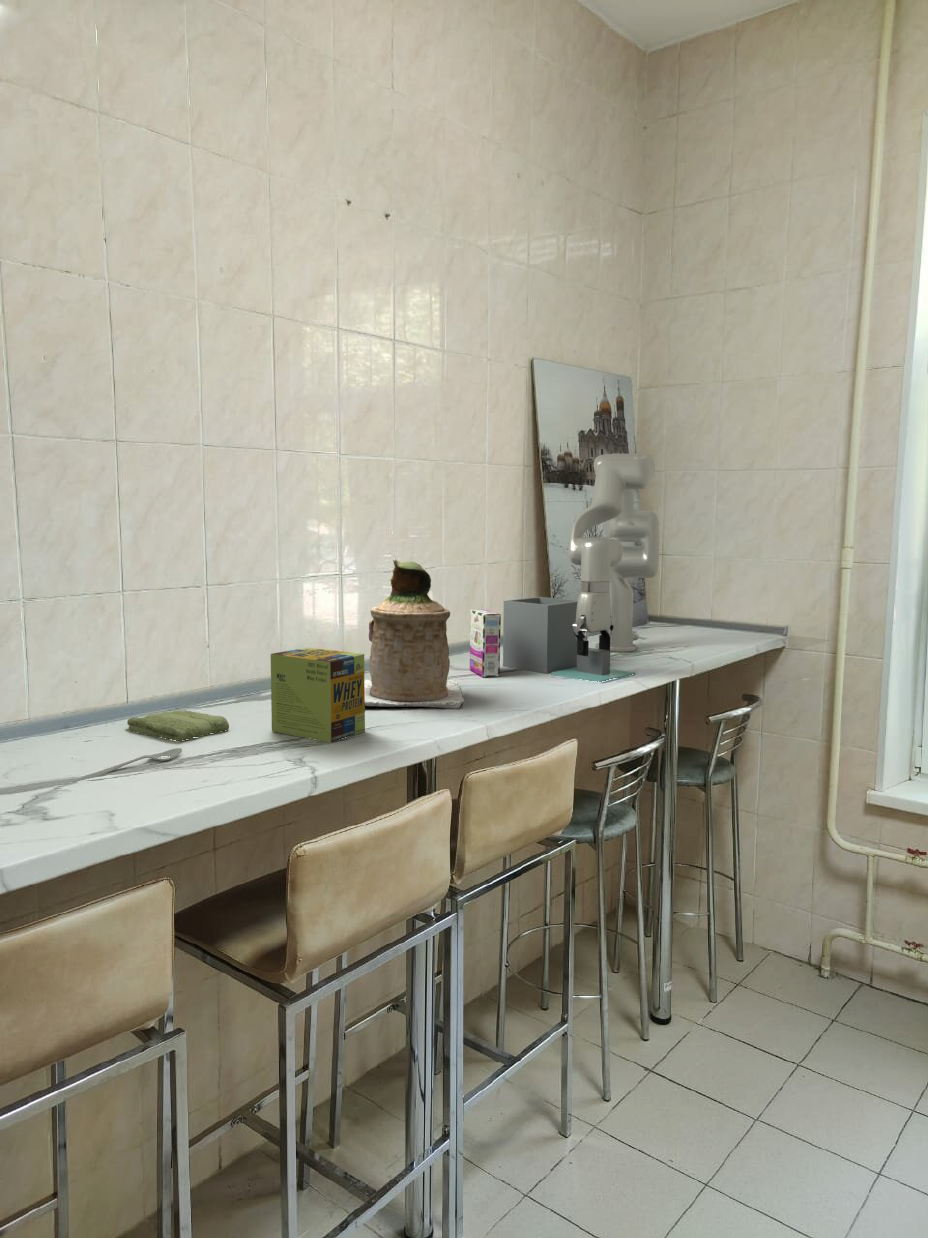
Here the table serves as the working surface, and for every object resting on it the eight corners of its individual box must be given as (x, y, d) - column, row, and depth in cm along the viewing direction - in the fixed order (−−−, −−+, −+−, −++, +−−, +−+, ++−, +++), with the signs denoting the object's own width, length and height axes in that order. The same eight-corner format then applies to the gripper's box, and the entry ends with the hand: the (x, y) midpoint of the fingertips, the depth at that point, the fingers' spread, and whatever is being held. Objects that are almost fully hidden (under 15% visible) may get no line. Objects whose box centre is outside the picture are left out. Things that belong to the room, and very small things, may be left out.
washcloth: (178, 719, 185) (178, 703, 185) (233, 732, 175) (233, 716, 174) (121, 731, 175) (121, 715, 174) (176, 746, 164) (176, 729, 164)
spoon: (188, 758, 156) (187, 749, 156) (73, 786, 141) (73, 776, 140) (174, 754, 159) (174, 745, 159) (61, 781, 143) (60, 771, 143)
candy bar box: (501, 677, 229) (501, 613, 227) (482, 678, 228) (483, 614, 225) (486, 669, 240) (487, 608, 237) (468, 670, 238) (469, 609, 236)
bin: (537, 659, 255) (538, 596, 253) (580, 666, 245) (582, 601, 242) (502, 666, 244) (503, 600, 242) (546, 673, 234) (547, 605, 232)
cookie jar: (466, 709, 193) (467, 562, 189) (352, 710, 192) (350, 562, 187) (458, 686, 218) (459, 555, 214) (357, 687, 216) (356, 555, 212)
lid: (585, 669, 244) (586, 643, 243) (634, 676, 233) (635, 649, 233) (551, 676, 233) (551, 649, 232) (600, 685, 222) (601, 656, 221)
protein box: (331, 743, 165) (330, 661, 163) (270, 732, 173) (268, 653, 171) (366, 731, 174) (366, 653, 172) (307, 721, 182) (305, 646, 180)
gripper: (602, 584, 239) (600, 647, 241) (563, 589, 226) (562, 655, 229) (626, 586, 234) (624, 650, 236) (587, 591, 221) (585, 659, 224)
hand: (593, 653), depth 232 cm, fingers open, 9 cm apart
